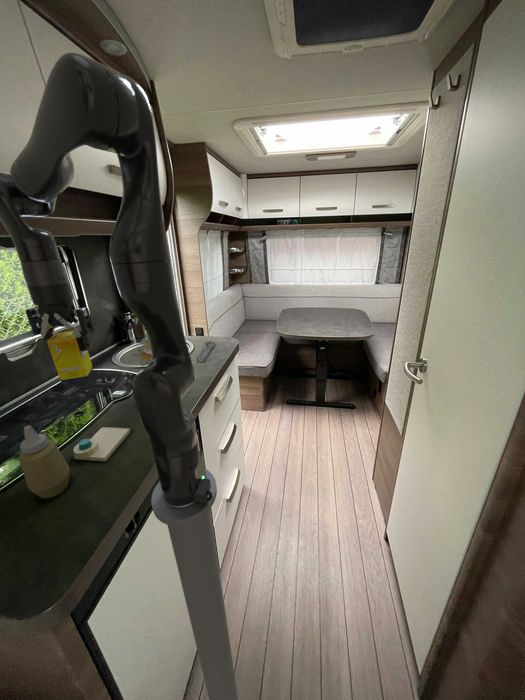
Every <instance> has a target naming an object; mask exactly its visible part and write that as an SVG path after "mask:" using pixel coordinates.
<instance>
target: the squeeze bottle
mask: <svg viewBox="0 0 525 700" xmlns="http://www.w3.org/2000/svg"><path fill="white" fill-rule="evenodd" d="M23 434H24V440H22V442H21V443H20V445H19V447H20V450H21V452H20V454H19V456H18V460H19V463H20V466H21V469H22V473H23V477H24V480H25V483H26V487H27V489H28V490H29V491H30V492H32V493H33V494H35V495H36V496H38V497H39V498H41V499H50V498H53V497H55V496H58V495H60V494H61V493H62V492H64V491H65V490H66V488H67V487H68V485H69V481H70V466H69V464H68V462H67V461H66V459H65V457H64V456H63V454H62V452H61V450H60V449H59V447H58V445H57V444H56V442H55V441H54V440H51V439H48V436H47V435H46V434H45V433H38V432H37V431H36V430H35V429H34V427H32V425H29V424H28V425H26V426H24V427H23Z"/></svg>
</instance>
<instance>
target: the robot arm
mask: <svg viewBox="0 0 525 700" xmlns="http://www.w3.org/2000/svg"><path fill="white" fill-rule="evenodd" d="M42 93H43V94H42V96H41V100H40V103H39V106H38V109H37V113H36V116H35V119H34V124H33V128H32V130H31V134H30V137H29V139H28V141H27V143H26V144H25V147H24V148H22V150H21V151H20V153H18V156H17V157H16V158H15V159H14V160H13V162H12V164H11V166H10V169H9V175H8V174H1V173H0V222H1V224H2V225H3V227H4V229H5V231H6V232H7V233H8V235H9V237H10V238H11V241H12V243H13V245H14V248H15V251H16V254H17V256H18V259H19V262H20V267H21V272H22V276H23V278H24V281H25V284H26V287H27V290H28V292H29V295H30V298H31V301H32V304H33V305H34V306H33V307H30V308H26V309H25V314H26V316H27V317H26V318H27V320H28V322H29V323H28V324H29V325H30V328H31V331H32V333H33V335H37V334H38V335H40V336H41V337H43V339H44V342H45V345H46V347H47V349H48V350H49V351H50V349H49V347H48V344H47V341H48V340H49V339H50V338H51V337H52V336H53V335H54V334H55V333H54V332H55V328H56V327H61V328H66V329H67V330H68V331H70V332H73V333H74V334H75V335H76V336H77V337H76V339H77V342H78V345H79V348H80V351H82V352H84V351H86V350H88V351H89V349H90V347H91V344H90V341H89V338H88V335H89V334H90V333H92V332H94V331H95V327H94V324H93V321H92V317H91V313H90V309H89V308H88V307H87V306H84V307H79V308H78V307H76V306H75V305H74V303H73V302H74V295H73V292H72V288H71V285H70V282H69V278H68V275H67V272H66V269H65V266H64V264H63V262H62V259H61V255H60V252H59V249H58V246H57V242H56V240H55V237H54V235H53V233H52V232H50V231H49V230H45V229H40V228H35V227H32V226H30V225H29V224H27V223H26V221H25V220H24V219H23V218H22V217H31V218H32V217H33V218H44V217H48V216H51V215H52V214H53V213H54V212H55V209H56V204H57V203H56V202H57V200H58V196H60V194H62V193H63V192H64V191H66V189H67V188H69V186H71V184H72V182H73V180H74V176H75V166H74V162H73V158H72V155H71V152H73V151H75V150H76V149H77V148H81V147H83V146H87V147H89V148H92V149H95V150H100V151H105V152H108V153H113V154H116V156H117V159H118V160H117V161H118V163H119V168H120V175H121V184H122V199H121V203H120V208H119V212H118V213H117V216H116V220H115V223H114V226H113V228H112V231H111V234H110V235H111V236H110V239H109V244H108V245H109V246H108V254H109V260H110V263H111V268H112V273H113V276H114V281H115V284H116V287H117V290H118V293H119V295H120V297H121V299H122V300H123V302H124V304H125V305H126V306H127V307H128V309H129V310H130V311H131V312H132V314H133V315H134V316H135V317H136V319H138V321H139V322H140V323H141V325H142V326H143V328H144V329H145V331H146V332H147V333H148V336H149V340H150V344H151V349H152V355H153V358H152V361H153V362H151V363H150V364H149V363H148V365H145V366H144V367H143V368H142V369H141V370H140V371H139V372H137V373H136V375H135V376H134V377H133V379H132V385H131V390H132V397H133V400H134V403H135V404H134V405H135V407H136V409H137V413H138V416H139V420H140V422H141V425H142V427H143V428H144V430H145V432H147V434H148V437H149V440H150V445H151V449H152V453H153V457H154V460H155V461H154V463H155V466H156V470H157V475H158V480H159V481H158V483H160V484H161V485H160V487H161V489H162V492H163V498H164V501H165V503H166V504H167V505H168V506H169V507H171V508H175V509H182V508H186V507H189V506H191V505H193V504H199V503H206V502H208V501H210V500H211V499H212V497H213V495H212V493H211V491H210V488H211V484H210V479H207V476H206V470H207V469H206V463H205V456H204V451H203V450H200V446H199V440H198V434H197V427H196V426H197V425H196V420H195V419H196V418H195V416H194V414H193V413H192V412H191V411H190V410H187V409H185V408H182V400H183V399H184V398H185V397H186V396H187V394H188V393H189V392H190V391H191V389H192V388H193V385H194V383H195V370H194V365H193V361H192V357H191V355H190V350H189V347H188V343H187V341H186V337H185V333H184V329H183V322H182V318H181V311H180V307H179V305H180V304H179V301H178V295H177V289H176V281H175V274H174V268H173V263H172V256H171V253H170V248H169V247H170V246H169V242H168V237H167V230H166V224H165V217H164V210H163V204H162V198H161V187H160V178H159V177H160V175H159V164H158V163H159V162H158V152H157V138H156V130H155V129H156V128H155V122H154V116H153V111H152V108H151V104H150V101H149V99H148V96H147V94H146V92H145V91H144V89H143V88H142V87H141V85H140V84H139V83H138V82H137V81H136V80H134V79H133V78H131V77H130V76H128V75H125V74H124V73H122V72H120V71H118V70H116V69H114V68H112V67H110V66H107V65H106V64H104V63H101V62H99V61H97V60H95V59H94V58H91V57H88V56H85V55H83V54H80V53H77V52H67V53H64V54H62V55H61V56H60V57H59V58H58V59H57V60H56V62H55V63H54V65H53V67H52V68H51V71H50V73H49V75H48V78H47V80H46V84H45V87H44V90H43V92H42ZM208 495H209V497H208ZM207 497H208V498H207Z"/></svg>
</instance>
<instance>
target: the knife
mask: <svg viewBox="0 0 525 700" xmlns="http://www.w3.org/2000/svg"><path fill="white" fill-rule="evenodd" d="M206 344H207V347H205V349H204V350H203V352H202V353H201V354H200V356H199V357H198V361H199V362H201V363H203V362H204V360H206V358H207V357H208V355H209V354H210V352H211V350H212V349H213V348H214V346H215V344H214V343H213V342H212V341H207V342H206Z"/></svg>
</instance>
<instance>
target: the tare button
mask: <svg viewBox="0 0 525 700" xmlns="http://www.w3.org/2000/svg"><path fill="white" fill-rule="evenodd" d="M89 439H90V438H84V439H81V440H80V441H79V442H78V443H79V447H80V449H81V450H85V449H88V448H90V447H91V442H90V440H89Z"/></svg>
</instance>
